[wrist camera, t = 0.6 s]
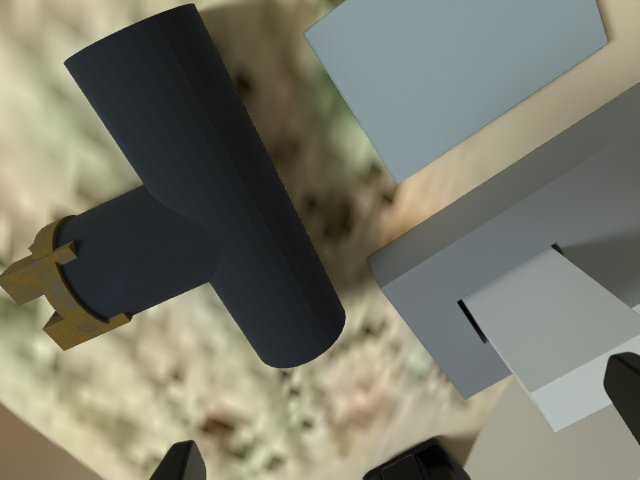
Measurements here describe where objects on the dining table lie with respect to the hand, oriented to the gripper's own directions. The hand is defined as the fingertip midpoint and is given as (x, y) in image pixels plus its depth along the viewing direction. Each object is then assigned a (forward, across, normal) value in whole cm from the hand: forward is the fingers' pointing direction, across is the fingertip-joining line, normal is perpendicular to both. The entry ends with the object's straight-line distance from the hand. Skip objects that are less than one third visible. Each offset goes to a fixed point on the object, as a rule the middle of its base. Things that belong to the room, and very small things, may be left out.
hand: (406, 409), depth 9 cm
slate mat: (+14, -7, -6) cm, 16 cm away
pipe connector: (+14, +8, 0) cm, 16 cm away
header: (+14, -14, +4) cm, 20 cm away
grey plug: (+14, -9, +6) cm, 18 cm away
